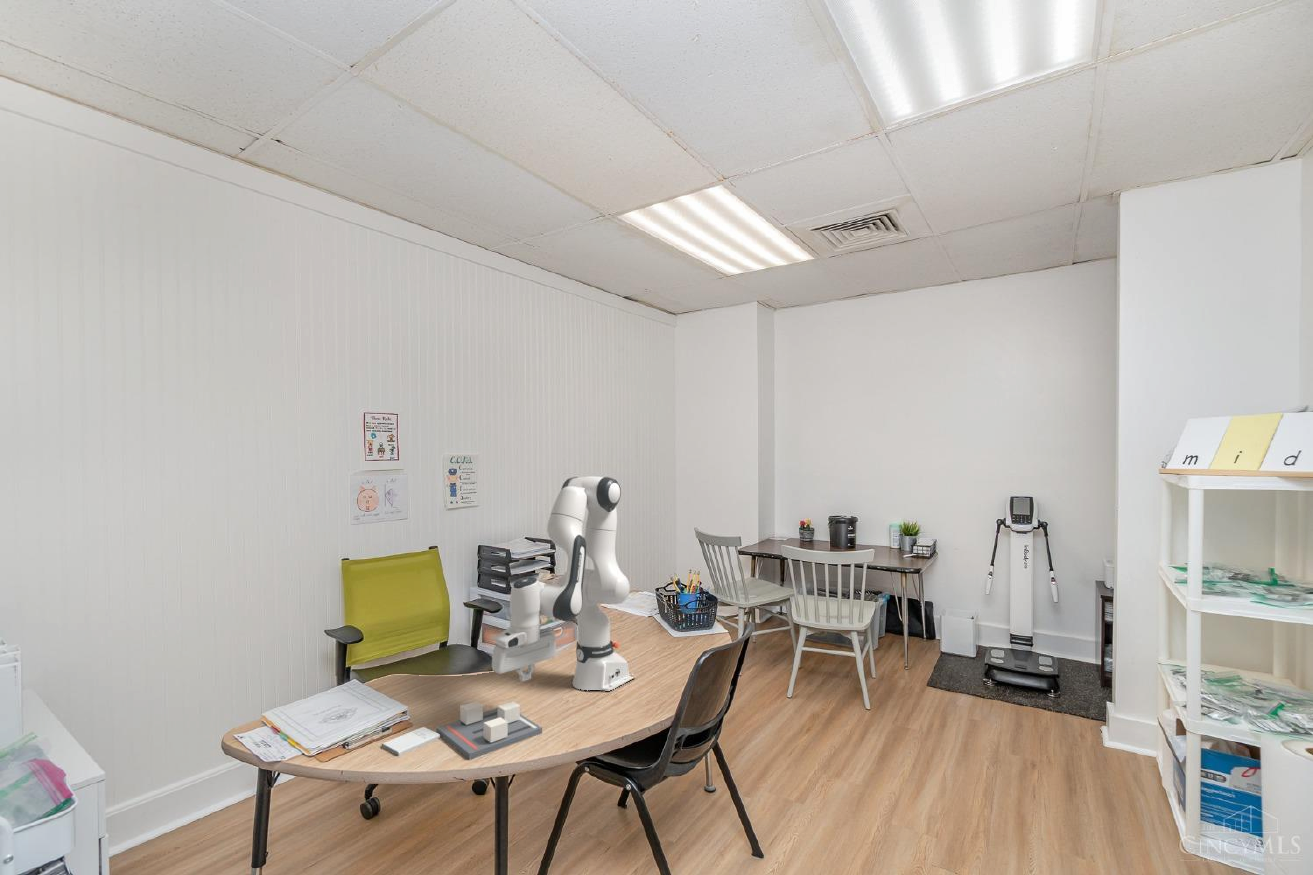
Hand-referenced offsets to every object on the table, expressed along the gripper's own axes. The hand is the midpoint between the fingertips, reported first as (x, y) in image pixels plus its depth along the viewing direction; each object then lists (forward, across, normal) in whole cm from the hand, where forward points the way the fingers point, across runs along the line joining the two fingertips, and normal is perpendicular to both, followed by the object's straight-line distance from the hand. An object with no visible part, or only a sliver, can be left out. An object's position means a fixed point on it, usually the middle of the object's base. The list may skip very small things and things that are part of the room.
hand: (525, 679), depth 178 cm
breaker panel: (+12, +12, 0) cm, 17 cm away
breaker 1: (+10, +14, -7) cm, 18 cm away
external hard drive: (+12, +30, -9) cm, 34 cm away
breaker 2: (+10, +14, +7) cm, 18 cm away
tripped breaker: (+10, +6, 0) cm, 11 cm away
